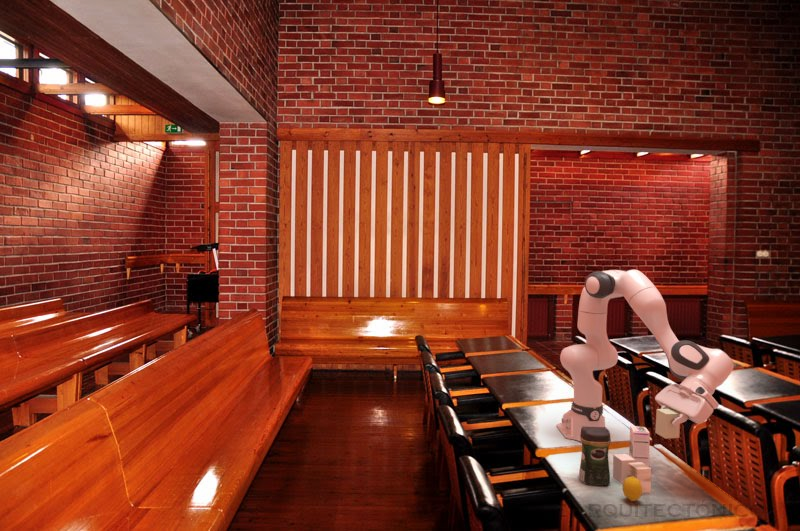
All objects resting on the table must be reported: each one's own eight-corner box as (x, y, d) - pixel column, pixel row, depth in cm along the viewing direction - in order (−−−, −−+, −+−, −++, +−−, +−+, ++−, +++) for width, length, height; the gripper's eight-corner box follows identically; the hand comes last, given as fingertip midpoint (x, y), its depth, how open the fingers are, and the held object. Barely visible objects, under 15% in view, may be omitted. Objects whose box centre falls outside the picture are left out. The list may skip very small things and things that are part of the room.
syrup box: (649, 472, 188) (651, 432, 187) (631, 470, 189) (633, 430, 189) (645, 465, 194) (646, 426, 193) (628, 464, 195) (629, 425, 194)
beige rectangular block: (655, 432, 177) (656, 409, 176) (668, 432, 178) (670, 408, 177) (665, 438, 172) (666, 414, 171) (679, 437, 173) (680, 413, 172)
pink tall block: (627, 486, 177) (628, 463, 177) (641, 485, 178) (641, 462, 177) (636, 493, 172) (637, 469, 172) (650, 492, 173) (651, 468, 173)
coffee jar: (604, 476, 184) (606, 423, 183) (612, 487, 176) (614, 432, 175) (576, 475, 185) (577, 422, 184) (582, 486, 177) (584, 431, 176)
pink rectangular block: (612, 477, 184) (613, 454, 183) (626, 476, 185) (626, 453, 184) (621, 484, 179) (621, 460, 178) (634, 483, 180) (635, 459, 179)
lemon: (625, 495, 171) (626, 471, 170) (643, 501, 167) (644, 476, 167) (619, 501, 166) (620, 476, 166) (638, 507, 163) (639, 482, 163)
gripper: (667, 376, 185) (640, 405, 184) (711, 393, 165) (681, 426, 164) (678, 388, 186) (651, 417, 185) (723, 407, 166) (693, 439, 165)
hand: (666, 421), depth 174 cm, fingers closed on beige rectangular block, 5 cm apart
